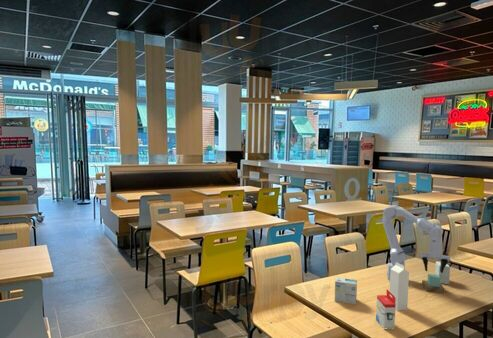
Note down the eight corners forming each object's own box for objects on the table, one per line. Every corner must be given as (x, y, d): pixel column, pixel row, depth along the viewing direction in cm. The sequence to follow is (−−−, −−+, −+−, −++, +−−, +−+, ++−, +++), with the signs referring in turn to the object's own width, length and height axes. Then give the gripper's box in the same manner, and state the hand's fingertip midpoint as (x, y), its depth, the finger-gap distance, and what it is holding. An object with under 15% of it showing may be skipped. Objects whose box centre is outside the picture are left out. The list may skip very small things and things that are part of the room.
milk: (397, 311, 163) (399, 266, 161) (388, 305, 169) (390, 262, 167) (407, 309, 164) (409, 265, 163) (398, 303, 170) (400, 261, 168)
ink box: (375, 319, 155) (376, 288, 153) (385, 319, 155) (387, 288, 154) (383, 330, 146) (385, 297, 145) (395, 329, 146) (396, 297, 145)
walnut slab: (425, 291, 185) (426, 286, 185) (422, 285, 194) (422, 280, 193) (444, 294, 183) (444, 288, 182) (439, 287, 191) (439, 282, 191)
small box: (449, 284, 194) (450, 266, 193) (438, 283, 195) (439, 265, 194) (445, 279, 201) (446, 262, 201) (434, 278, 203) (435, 261, 202)
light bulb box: (356, 299, 175) (357, 278, 174) (356, 304, 169) (356, 284, 168) (335, 295, 178) (335, 276, 177) (334, 301, 172) (334, 281, 171)
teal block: (429, 285, 186) (430, 277, 185) (427, 282, 191) (427, 273, 190) (439, 286, 184) (440, 278, 184) (437, 283, 189) (437, 274, 189)
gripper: (422, 248, 184) (420, 272, 185) (452, 251, 180) (450, 275, 181) (419, 244, 191) (418, 267, 192) (448, 247, 187) (446, 270, 188)
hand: (433, 271), depth 187 cm, fingers open, 7 cm apart
